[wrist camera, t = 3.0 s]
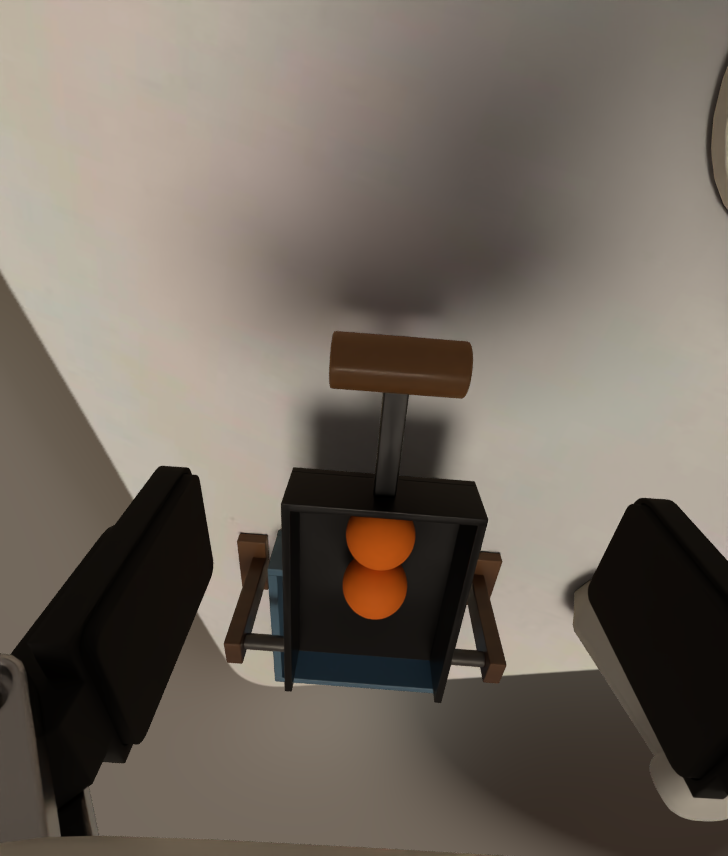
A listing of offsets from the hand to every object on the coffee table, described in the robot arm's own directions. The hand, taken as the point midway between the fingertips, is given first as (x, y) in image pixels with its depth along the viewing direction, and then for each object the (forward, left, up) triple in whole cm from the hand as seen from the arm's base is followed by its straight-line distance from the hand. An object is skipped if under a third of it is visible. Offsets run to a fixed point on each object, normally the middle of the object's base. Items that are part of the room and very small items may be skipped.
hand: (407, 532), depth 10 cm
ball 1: (+7, 0, -7) cm, 10 cm away
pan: (+8, 0, -9) cm, 13 cm away
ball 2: (+11, 0, -7) cm, 13 cm away
